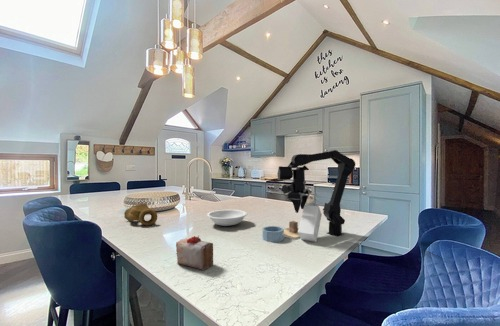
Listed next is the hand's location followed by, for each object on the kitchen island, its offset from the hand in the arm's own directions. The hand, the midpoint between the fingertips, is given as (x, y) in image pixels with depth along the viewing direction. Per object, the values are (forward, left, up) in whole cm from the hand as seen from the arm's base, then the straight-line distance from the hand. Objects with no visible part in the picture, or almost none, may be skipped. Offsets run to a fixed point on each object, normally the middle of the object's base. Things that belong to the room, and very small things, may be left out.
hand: (299, 210), depth 112 cm
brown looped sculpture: (+60, -78, -13) cm, 99 cm away
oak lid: (0, -4, -12) cm, 13 cm away
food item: (+54, -2, -13) cm, 56 cm away
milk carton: (+5, +9, -10) cm, 15 cm away
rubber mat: (0, -4, -13) cm, 13 cm away
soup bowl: (+18, -41, -13) cm, 46 cm away
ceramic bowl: (+14, -4, -13) cm, 19 cm away
